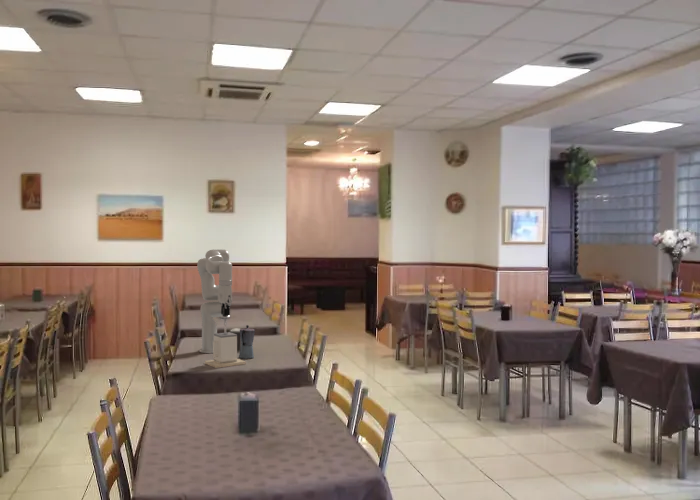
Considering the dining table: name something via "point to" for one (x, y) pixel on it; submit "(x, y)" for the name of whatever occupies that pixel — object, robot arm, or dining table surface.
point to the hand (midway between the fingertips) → (225, 314)
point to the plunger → (225, 320)
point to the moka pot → (246, 343)
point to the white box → (225, 351)
